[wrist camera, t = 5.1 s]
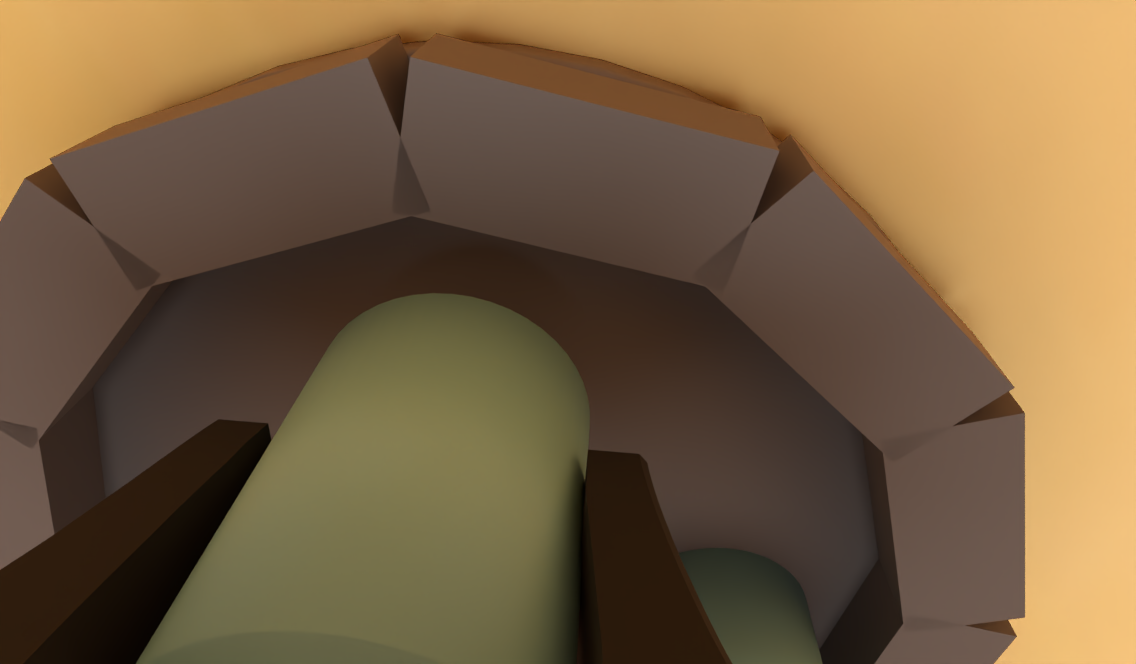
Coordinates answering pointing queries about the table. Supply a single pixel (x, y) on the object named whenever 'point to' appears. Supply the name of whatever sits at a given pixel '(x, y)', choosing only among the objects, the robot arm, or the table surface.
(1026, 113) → the table surface
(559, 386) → the grey green cylinder
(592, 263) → the ring tray
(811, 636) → the bead
